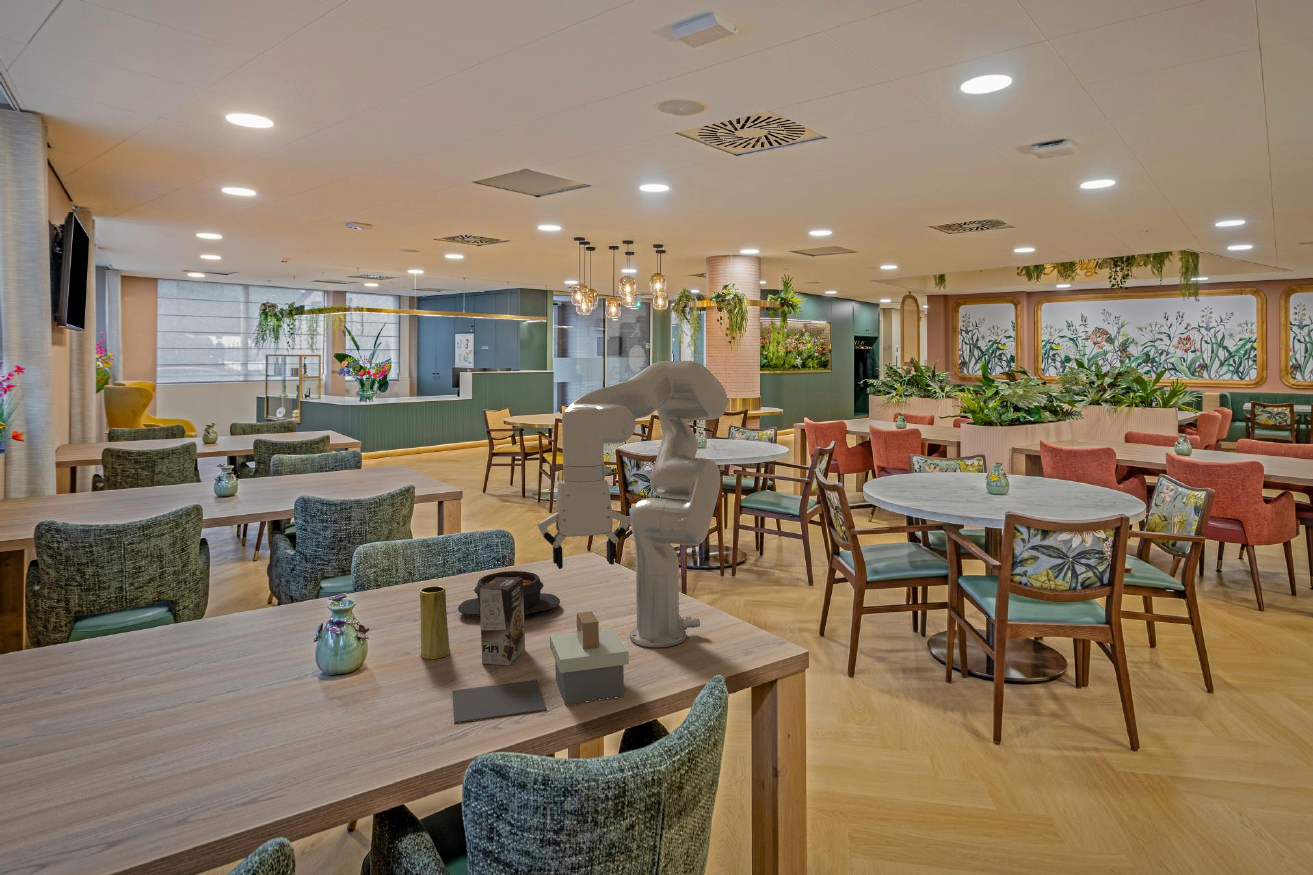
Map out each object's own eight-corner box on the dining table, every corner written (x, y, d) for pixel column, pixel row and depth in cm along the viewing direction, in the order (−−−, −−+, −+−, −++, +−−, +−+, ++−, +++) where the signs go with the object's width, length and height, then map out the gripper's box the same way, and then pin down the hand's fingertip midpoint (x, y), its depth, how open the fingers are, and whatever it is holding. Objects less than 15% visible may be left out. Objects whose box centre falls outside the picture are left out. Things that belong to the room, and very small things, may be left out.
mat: (537, 681, 148) (537, 679, 148) (546, 710, 136) (546, 708, 136) (452, 692, 144) (452, 690, 144) (454, 723, 131) (454, 722, 131)
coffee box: (510, 666, 156) (507, 589, 154) (480, 664, 157) (477, 588, 155) (526, 649, 165) (524, 576, 163) (498, 647, 166) (496, 575, 164)
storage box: (610, 673, 151) (609, 634, 151) (624, 696, 141) (623, 655, 140) (555, 680, 148) (554, 641, 147) (565, 705, 138) (564, 662, 137)
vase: (434, 662, 158) (431, 595, 157) (414, 656, 162) (411, 591, 160) (456, 652, 164) (453, 587, 162) (436, 646, 167) (433, 583, 165)
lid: (613, 640, 152) (612, 603, 151) (628, 664, 140) (628, 624, 139) (550, 647, 148) (549, 610, 147) (560, 673, 136) (559, 632, 135)
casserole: (455, 628, 178) (454, 593, 177) (460, 603, 196) (459, 571, 195) (562, 620, 183) (561, 586, 182) (558, 596, 201) (557, 565, 200)
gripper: (624, 469, 146) (625, 556, 148) (533, 473, 141) (536, 563, 143) (634, 474, 139) (635, 566, 141) (539, 479, 134) (541, 574, 136)
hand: (585, 565), depth 142 cm, fingers open, 9 cm apart
